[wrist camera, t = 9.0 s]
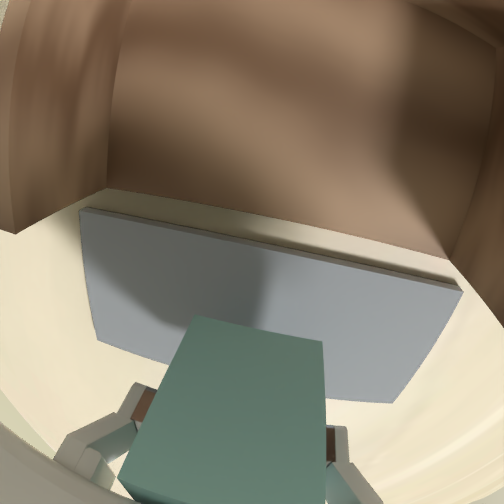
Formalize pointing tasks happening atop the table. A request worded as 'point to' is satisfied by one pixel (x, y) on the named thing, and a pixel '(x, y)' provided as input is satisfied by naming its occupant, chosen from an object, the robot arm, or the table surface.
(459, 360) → the table surface
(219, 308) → the grey mat
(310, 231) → the table surface
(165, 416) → the teal block
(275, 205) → the open-fronted box
